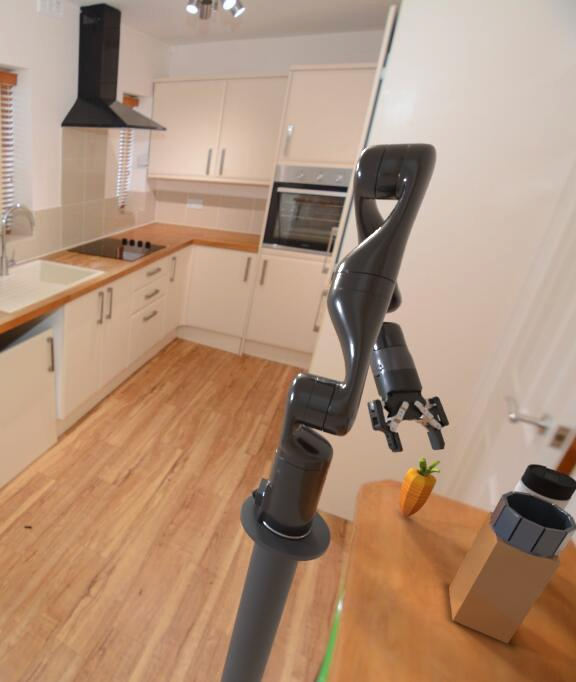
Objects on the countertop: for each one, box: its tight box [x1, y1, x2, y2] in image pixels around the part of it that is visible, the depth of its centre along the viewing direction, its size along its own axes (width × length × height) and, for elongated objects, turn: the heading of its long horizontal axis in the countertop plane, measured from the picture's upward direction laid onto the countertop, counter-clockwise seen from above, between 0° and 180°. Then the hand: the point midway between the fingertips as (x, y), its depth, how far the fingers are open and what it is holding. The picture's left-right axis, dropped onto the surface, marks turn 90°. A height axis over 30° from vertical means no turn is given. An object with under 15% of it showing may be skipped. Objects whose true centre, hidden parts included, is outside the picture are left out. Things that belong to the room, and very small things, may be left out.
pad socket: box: [448, 490, 576, 644], centre depth 70 cm, size 8×8×23 cm
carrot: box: [398, 456, 441, 518], centre depth 90 cm, size 5×5×15 cm
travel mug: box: [513, 463, 576, 511], centre depth 81 cm, size 6×7×20 cm
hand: (418, 450), depth 90 cm, fingers open, 8 cm apart
